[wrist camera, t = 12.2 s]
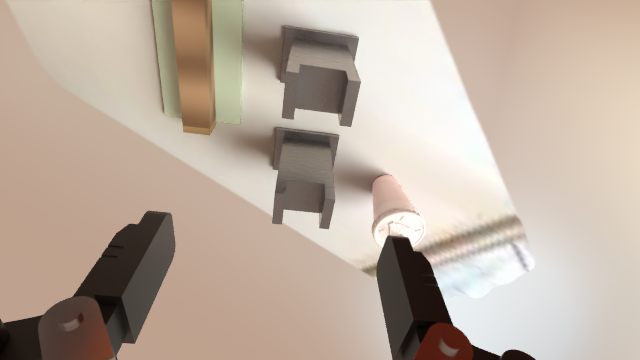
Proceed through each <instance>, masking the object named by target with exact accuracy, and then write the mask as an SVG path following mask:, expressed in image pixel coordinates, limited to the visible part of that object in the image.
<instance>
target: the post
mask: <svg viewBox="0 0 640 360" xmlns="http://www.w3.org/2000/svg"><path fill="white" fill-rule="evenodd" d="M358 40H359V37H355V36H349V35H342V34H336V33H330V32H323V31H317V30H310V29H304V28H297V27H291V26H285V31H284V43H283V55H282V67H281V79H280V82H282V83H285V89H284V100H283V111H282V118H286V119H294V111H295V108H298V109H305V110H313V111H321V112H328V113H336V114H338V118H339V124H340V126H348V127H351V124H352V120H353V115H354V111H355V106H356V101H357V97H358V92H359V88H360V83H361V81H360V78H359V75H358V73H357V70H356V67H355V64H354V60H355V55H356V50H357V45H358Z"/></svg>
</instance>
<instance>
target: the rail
mask: <svg viewBox="0 0 640 360" xmlns="http://www.w3.org/2000/svg"><path fill="white" fill-rule="evenodd" d="M171 6H172V17H173V27H174V38H175V48H176V59H177V69H178V80H179V90H180V101H181V111H182V122H183V132H187V133H196V134H204V135H210V134H211V132H212V131H213V129H214V127H215V125H216V108H215V80H214V52H213V24H212V0H171Z"/></svg>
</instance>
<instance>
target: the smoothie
mask: <svg viewBox="0 0 640 360" xmlns="http://www.w3.org/2000/svg"><path fill="white" fill-rule="evenodd" d="M372 188H373V212H374V222H373V225H372V234H373V237H374V240H375V242H376V243H377V244H378V245H379V246H380V247H382V248H383V246H384V243H385V240H386V238H387V236H388V235H393V236H403V237H408V238H409V239H410V242H411V245H412V247H413V246H415V245H416V244H417V243H419V242H420V241H421V240H422V238H423V237H424V235H425V232H426V225H425V222H424V218H423V216H422V215H421V214H420V213H419V212H418V211H417V210H415V208H414V206H413V205H412V203H411V202H410V200H409V198H408V197H407V195H406V193H405V192H404V190H403V189H402V187H401V185H400V184H399V182H398V180H397V179H396V178H395V177H393V176H391V175H383V176H380V177H378V178H377V179H376V180H375V181H374V183H373V186H372Z"/></svg>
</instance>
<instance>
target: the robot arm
mask: <svg viewBox="0 0 640 360" xmlns="http://www.w3.org/2000/svg"><path fill="white" fill-rule="evenodd" d="M174 252H175V237H174V229H173V221H172V215H171V214H170V213H166V212H157V211H156V212H155V211H147V212H146V213H145V214H144V216H143V218H142V219H141V221H140V222H139V224H129V225H127V226H126V227H124V228H123V229H122V230H120V231H119V232H118V233H116V235H115V236H114V238H113V239H112V241H111V242H110V243H109V245H108V248H106V249H105V251H104V252H103V254H102V257H101V258H99V260H98V261H97V262H96V264H95V265H94V267H93V268H92V270H91V271H90V272H89V274H88V275H87V277H86V279H85V280H84V281H83V283H82V284H81V286H80V287H79V288H78V290H77V291H76V293H75V294H74V296H73V297H71V298H68V299H65V300H63V301H60V302H59V303H57V304H55V305H54V306H52V307H51V308H50V309H49V310H47V312H46V313H45V314H44V315H41V316H37V317H32V318H28V319H22V320H17V321H12V322H6V323H3V322H2V321H1V319H0V360H118V359H117V356H116V355H117V353H118V351H119V349H120V347H121V345H122V343H132V344H133V343H134V344H135V342H136V340H137V338H138V335H139V333H140V331H141V329H142V326H143V324H144V322H145V320H146V318H147V315H148V313H149V311H150V308H151V306H152V304H153V302H154V300H155V298H156V295H157V293H158V291H159V288H160V286H161V284H162V282H163V280H164V277H165V275H166V273H167V271H168V268H169V266H170V264H171V262H172V259H173V257H174ZM377 281H378V287H379V292H380V297H381V302H382V307H383V312H384V317H385V323H386V328H387V333H388V338H389V343H390V348H391V354H392V359H393V360H535V359H534V358H533V357H531V356H530V355H528V354H526V353H524V352H522V351H519V350H508V351H506V352H504V353H503V355H502V356H498V355H496V354H493V353H491V352H488V351H485V350H483V349H480V348H478V347H475V346H474V345H472V344H471V343H470V341H469V340H468V338H467V337H466V336H465V335H464V333H463V332H462V331H460V330H459V329H458V328H456V327H454V326H453V323H452V321H451V318H450V316H449V313H448V310H447V308H446V305H445V302H444V299H443V297H442V294H441V291H440V289H439V287H438V283H437V281H436V278H435V277H434V273H433V270H432V267H431V265H430V262H429V261H428V260H427V259H426V258H425V256H424V255H423V254H422V253H421V252H417V251H413V248H412V245H411V242H410V239H409V238H408V237H403V236H393V235H388V236H387V238H386V240H385V243H384V246H383V249H382V251H381V254H380V257H379V260H378V263H377Z"/></svg>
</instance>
